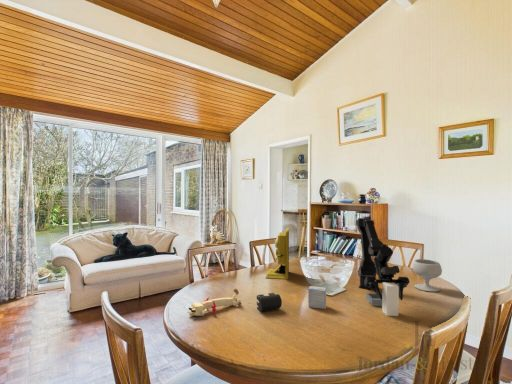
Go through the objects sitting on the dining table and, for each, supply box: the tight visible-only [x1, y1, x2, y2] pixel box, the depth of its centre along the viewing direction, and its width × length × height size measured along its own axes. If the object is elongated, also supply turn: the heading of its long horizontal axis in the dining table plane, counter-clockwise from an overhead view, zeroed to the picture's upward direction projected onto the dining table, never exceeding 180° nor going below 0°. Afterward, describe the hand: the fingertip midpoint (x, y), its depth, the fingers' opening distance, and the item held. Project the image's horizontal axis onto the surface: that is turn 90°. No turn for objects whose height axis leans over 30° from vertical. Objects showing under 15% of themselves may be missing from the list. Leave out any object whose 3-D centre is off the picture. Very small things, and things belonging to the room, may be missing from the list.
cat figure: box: [187, 288, 242, 317], centre depth 128 cm, size 10×9×25 cm
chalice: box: [412, 258, 443, 293], centre depth 157 cm, size 14×14×15 cm
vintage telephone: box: [265, 227, 290, 281], centre depth 182 cm, size 31×14×30 cm, turn 172°
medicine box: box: [307, 285, 327, 310], centre depth 132 cm, size 8×4×9 cm, turn 71°
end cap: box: [256, 292, 283, 313], centre depth 128 cm, size 10×7×7 cm
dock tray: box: [365, 292, 382, 307], centre depth 137 cm, size 9×9×3 cm
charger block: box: [381, 282, 400, 317], centre depth 125 cm, size 5×5×13 cm
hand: (391, 299), depth 123 cm, fingers open, 8 cm apart
